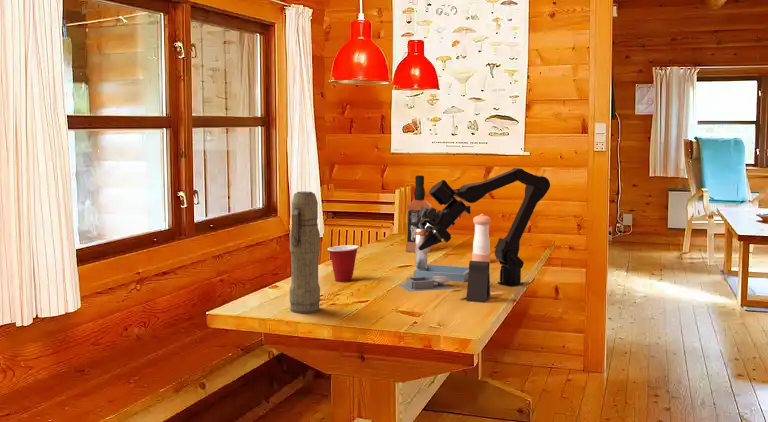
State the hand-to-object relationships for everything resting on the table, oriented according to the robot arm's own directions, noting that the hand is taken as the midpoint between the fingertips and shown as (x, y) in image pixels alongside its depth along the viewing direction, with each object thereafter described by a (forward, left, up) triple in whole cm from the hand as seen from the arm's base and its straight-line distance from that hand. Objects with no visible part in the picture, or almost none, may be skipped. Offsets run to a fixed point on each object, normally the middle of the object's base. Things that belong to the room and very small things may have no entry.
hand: (417, 248), depth 274 cm
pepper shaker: (+19, -55, -14) cm, 59 cm away
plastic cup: (+26, +10, -14) cm, 31 cm away
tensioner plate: (-3, -1, -13) cm, 14 cm away
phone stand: (-23, -4, -14) cm, 28 cm away
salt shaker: (-1, -1, -7) cm, 7 cm away
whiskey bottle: (+54, -55, -14) cm, 78 cm away
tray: (+5, -19, -13) cm, 24 cm away
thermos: (0, +46, -14) cm, 48 cm away
